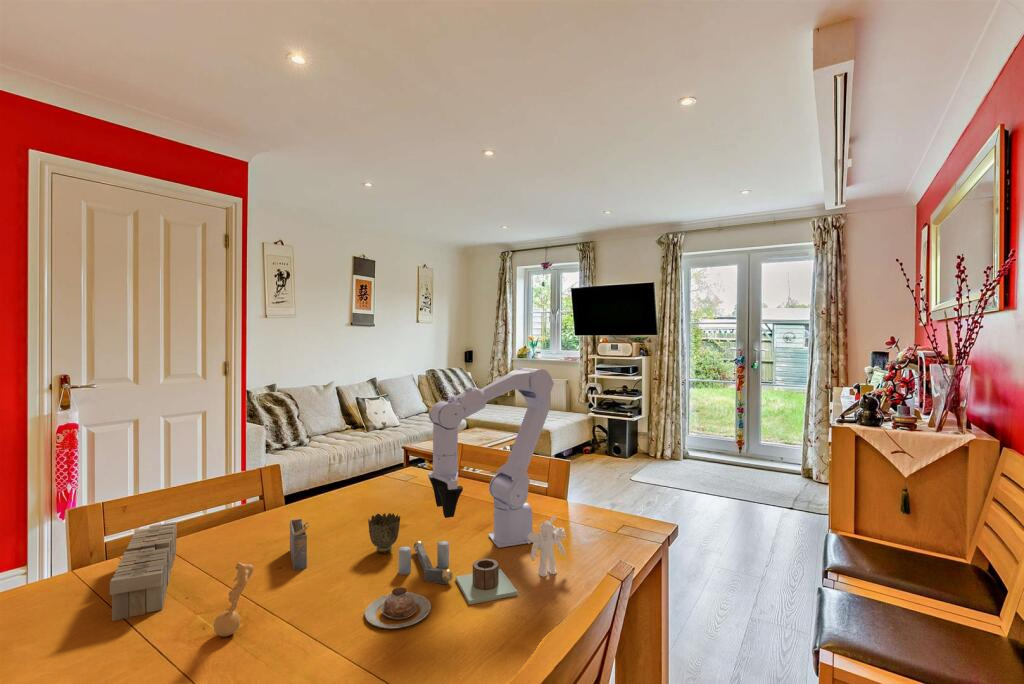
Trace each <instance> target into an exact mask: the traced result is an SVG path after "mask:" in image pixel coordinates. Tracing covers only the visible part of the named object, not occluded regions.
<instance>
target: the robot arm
mask: <svg viewBox="0 0 1024 684" xmlns="http://www.w3.org/2000/svg"><path fill="white" fill-rule="evenodd" d="M554 384H555V382H554V380H553V379H552V375H551V374H550V373H549V371H548V370H547V369H544V368H530V367H527V366H522V367H521V366H520V367H519V368H517V369H513V370H511V371H510V372H508V373H507V374H505V375H503V376H502V377H499V378H498V379H495V380H494V381H493V382H491V383H489V384H487V385H486V386H484V387H482V388H478V387H475V386H474V387H470V386H467V387H466V388H464V391H463V392H461V393H459V394H457V395H454V396H453V395H450V396H448V397H447V401H444V400H443V401H442V400H440V401H438V402H436V403H434V404H433V407H431V409H430V411H429V413H428V418H429V420H430V422H431V423H432V425H433V426H432V427H433V428H432V430H433V431H432V472H429V471H428V473H427V476H428V479H429V481H430V483H431V486H432V487H431V488H432V489H433V494H434V500H435V504H436V507H439V508H440V507H442V513H443V517H444V519H448V518H454V517H455V513H456V508H457V504H458V501H459V498H460V496H461V494H462V492H463V489H464V487H463V486H462V485H458V478H459V471H458V459H459V458H458V456H459V455H458V454H459V453H458V451H459V450H458V448H459V447H458V446H459V443H458V441H459V439H458V438H459V435H458V433H459V432H458V429H459V428H458V427H459V426H460V425H461V423H462V421H463V420H465V419H467V418H468V417H470V416H472V415H474V414H476V413H478V412H479V411H481V410H484V409H485V407H486V405H487V403H488V402H489V401H490V400H493V399H495V398H498V397H499V396H502V395H504V394H506V393H509V392H510V391H513V390H517V391H518V392H519V393H520V394H521V395H522V397H523V398H524V400H525V402H526V404H527V409H526V412H525V413H524V417H523V419H522V422H521V424H520V428H519V430H518V432H517V434H516V438H515V440H514V443H513V445H512V448H511V450H510V452H509V455H508V459H507V460H506V463H504V464H503V465H502V466H500V467H499V468H498V470H497V472H496V474H495V475H494V477H492V479H491V480H490V482H489V487H488V491H489V494H490V495H491V497H493V532H492V533H488V537H489V538H490V539H491V541H492V542H493V543H494V544H495V546H496V547H497V548H499V549H500V548H505V547H513V546H518V545H526V544H528V542H530V540H529V539H528V538H527V535H528V534H529V533H530V532H531V533H532V532H534V531H533V528H534V527H533V525H534V524H533V519H534V518H533V516H534V515H533V511H532V507H531V505H530V503H529V502H527V500H528V496H529V486H530V483H531V481H530V477H529V474H528V469H529V467H530V466H529V465H530V462H531V461H532V460H531V459H532V457H533V455H534V452H535V449H536V446H537V444H538V441H539V438H540V437H541V436H540V435H541V433H542V430H543V428H544V425H545V423H546V420H547V418H548V414H549V411H550V409H551V404H552V403H551V402H552V401H551V399H552V398H551V396H552V394H551V392H552V390H553V387H554V386H555V385H554ZM530 544H533V542H532V541H531V542H530Z"/></svg>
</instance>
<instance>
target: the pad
mask: <svg viewBox="0 0 1024 684" xmlns="http://www.w3.org/2000/svg"><path fill="white" fill-rule="evenodd" d="M455 581H456V583H457V585H458V587H459V589H460V590H461V592H462V595H463V596H464V598H465V600H466V602H467V604H468V605H474V604H479V603H485V602H490V601H494V600H501V599H504V598H505V599H506V598H511V597H515V596H518V590H517V588H516V587H515V586H514V585H513V583H512V582H511V581H510V579H509V578H508V577H507V575H506V574H505V573H504V572H503V570H502V569H501V568H499V584H498V585H497V586H496V587H495V588H494V589H490V590H480V589H476V588H475V587H474V585H473V573H470V574H463V575H457V576H455Z"/></svg>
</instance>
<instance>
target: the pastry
mask: <svg viewBox="0 0 1024 684" xmlns="http://www.w3.org/2000/svg"><path fill="white" fill-rule="evenodd" d="M417 606H418V608H419V612H418V615H416V616H415V617H414V618H413V619H411V620H410V621H407V622H403V623H397V624H396V623H395V624H390V623H385V622H382V621H380V620H379V619H378V617H377V613H378V611H379V610H380V614H381V615H384V616H385V617H386V618H388V619H391V620H398V621H399V620H406V619H408V618H410V617H412V616H413V615H414V614H415V613H416V612H417V611H418V610H417ZM431 607H432V604H431V602H430V600H429V599H428V598H426V597H425V596H423V595H420V594H418V593H416V592H415V593H414V592H407V588H406V587H403V586H398V587H396V588H393V589H392V590H391V593H389V594H386V595H383V596H380V597H378V598H375V600H373V601H371V603H370V604H368V606H367V607H366V609H365V610H364V618H365V619H366V621H367V622H368V623H369V624H370V625H372V626H375V627H376V628H382V629H383V628H384V629H391V630H393V629H400V628H405V627H409V626H413V625H415V624H417V623H419V622H420V621H422V620H424V619H425V618H426V617H427V616H428V615H429V613H430V612H431Z"/></svg>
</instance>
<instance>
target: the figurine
mask: <svg viewBox="0 0 1024 684" xmlns="http://www.w3.org/2000/svg"><path fill="white" fill-rule="evenodd" d="M235 570H236V571H237V572H236V576H235V578H234V579H233V582H237V583H236V584H235V585H234V586H233V587H232V589H231V590H230V591H229V592H228V602H229V603H231V605H230V606H229V607H227V608H226V609H225V610H224V611H222V612H221V613H219V614H218V616H217V617H216V618H215V619H214V622H213V631H214V633H215V634H216V635H218V636H219V637H229V636H231V635H233V634H234V633H235V632H237V630H238V628H239V627H240V625H241V615H240V614H239V612H238V611H236V609H237V607H238V601H239V599H240V596H241V595H242V593H243V591H244V590H245V587H246V585H247V583H248V580H249V579H250V578H251V576H252V575H253V573H254V570H255V569H254V565H252V564H251V563H242V562H237V563H236V564H235Z"/></svg>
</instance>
